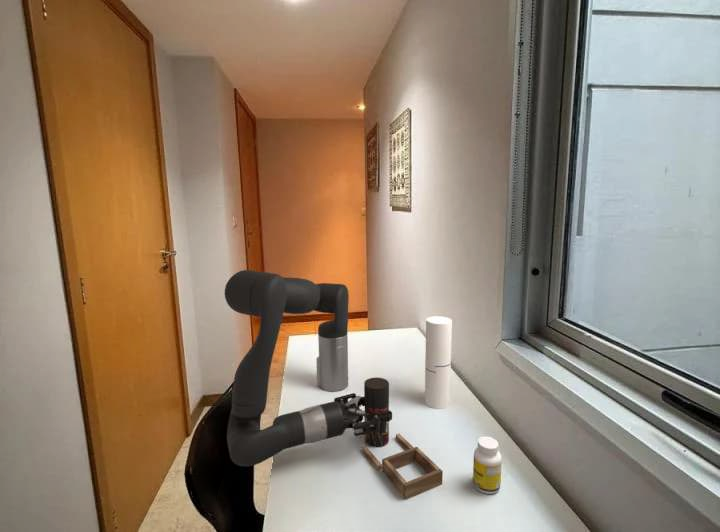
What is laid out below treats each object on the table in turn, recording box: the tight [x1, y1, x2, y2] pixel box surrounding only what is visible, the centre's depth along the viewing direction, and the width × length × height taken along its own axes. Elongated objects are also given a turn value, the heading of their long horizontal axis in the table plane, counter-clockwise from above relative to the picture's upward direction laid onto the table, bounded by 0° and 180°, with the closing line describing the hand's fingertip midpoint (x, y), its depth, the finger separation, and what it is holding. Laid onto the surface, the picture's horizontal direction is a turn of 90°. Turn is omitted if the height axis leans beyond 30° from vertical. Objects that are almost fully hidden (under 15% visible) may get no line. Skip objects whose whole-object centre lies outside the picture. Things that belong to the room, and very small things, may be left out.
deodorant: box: [363, 377, 390, 448], centre depth 93 cm, size 6×6×15 cm
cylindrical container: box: [424, 315, 453, 410], centre depth 110 cm, size 7×7×25 cm
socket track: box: [360, 433, 444, 500], centre depth 85 cm, size 18×11×3 cm, turn 27°
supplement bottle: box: [472, 436, 503, 495], centre depth 78 cm, size 5×5×10 cm
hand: (383, 406), depth 94 cm, fingers open, 8 cm apart
